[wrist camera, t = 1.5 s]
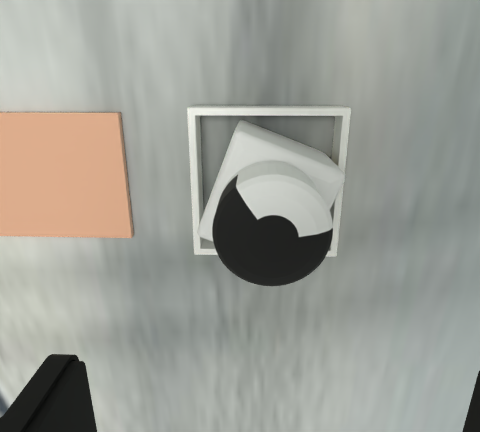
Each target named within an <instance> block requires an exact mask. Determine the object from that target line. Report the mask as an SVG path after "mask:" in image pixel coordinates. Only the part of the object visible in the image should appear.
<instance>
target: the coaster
mask: <svg viewBox="0 0 480 432" xmlns="http://www.w3.org/2000/svg"><path fill="white" fill-rule="evenodd" d="M133 235H134V232H133V222H132V213H131V204H130V195H129V185H128V176H127V167H126V157H125V148H124V139H123V129H122V120H121V112H0V236H41V237H108V238H132V237H133Z"/></svg>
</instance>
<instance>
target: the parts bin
mask: <svg viewBox="0 0 480 432" xmlns="http://www.w3.org/2000/svg"><path fill="white" fill-rule="evenodd" d="M187 112H188V133H189V154H190V175H191V196H192V217H193V238H194V254H197V255H218V254H217V252H216V249H215V246H214V243H213V242H212V241H210V240H207V239H204V238H201V237H200V236H199V235H198V233H197V229H198V227H199V224H200V221H201V219H202V216H203V213H204V206H203V179H202V151H201V124H200V115H252V116H335V123H334V134H333V146H332V158H331V160H332V161H333V162H334V163H335V164H336V165H337V166H338V167H339V168H340V169H341V170H342V171H343V172H344V173H345V166H346V156H347V146H348V136H349V126H350V116H351V108H349V107H345V106H191V107H188V108H187ZM343 186H344V183H343V185H342V187H341V189H340V191H339V193H338V195H337V197H336V199H335V201H334V202H333V204H332V206H331V208H330V210H329V211H330V214H331V217H332V223H333V237H332V242H331V245H330V248H329V251H328V253H327V255H326V256H325V257H337V247H338V237H339V227H340V217H341V207H342V197H343Z"/></svg>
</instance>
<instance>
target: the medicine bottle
mask: <svg viewBox="0 0 480 432" xmlns="http://www.w3.org/2000/svg"><path fill="white" fill-rule="evenodd" d="M345 177H346V176H345V173H344V172H343V171H342V170H341V169H340V168H339V167H338V166H337V165H336V164H335V163H334V162H333V161H332V160H331V159H330V158H329V157H328V156H327V155H326V154H325V153H324V152H322V151H319V150H317V149H314V148H312V147H309V146H307V145H305V144H302V143H300V142H297V141H295V140H292V139H290V138H287V137H285V136H282V135H280V134H277V133H275V132H272V131H270V130H267V129H265V128H262V127H260V126H257V125H255V124H252V123H250V122H247V121H245V120H241V121H239V122H238V124H237V126H236V129H235V131H234V134H233V136H232V139H231V142H230V144H229V147H228V150H227V152H226V155H225V158H224V160H223V163H222V166H221V168H220V171H219V174H218V176H217V179H216V182H215V184H214V187H213V190H212V192H211V195H210V198H209V200H208V203H207V205H206V208H205V211H204V213H203V216H202V219H201V221H200V224H199V227H198V229H197V233H198V235H199V236H200V237H201V238H204V239H207V240H210V241H212V242H213V243H214V246H215V249H216V252H217V254H218V256H219V258H220V259H221V261H222V262H223V264H224V265H225V266H226V267H227V268H228V269H229V270H230V271H231V272H233V273H234V274H235V275H237V276H238V277H240V278H241V279H244V280H246V281H248V282H251V283H254V284H258V285H263V286H280V285H286V284H290V283H293V282H296V281H298V280H300V279H302V278H304V277H306V276H307V275H309V274H310V273H311V272H313V271H314V270H315V269H316V268H317V267H318V266H319V265H320V264H321V262H322V261H323V260H324V258H325V256H326V255H327V253H328V251H329V248H330V245H331V242H332V237H333V223H332V217H331V214H330V211H329V210H330V208H331V206H332V204H333V202H334V201H335V199H336V197H337V195H338V193H339V191H340V189H341V187H342V185H343V183H344V181H345Z"/></svg>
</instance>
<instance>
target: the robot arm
mask: <svg viewBox="0 0 480 432" xmlns="http://www.w3.org/2000/svg"><path fill="white" fill-rule="evenodd" d="M0 432H97V429H96V423H95V417H94V412H93V406H92V400H91V394H90V389H89V383H88V377H87V371H86V366H85V363H84V362H83V361H79V359H78V357H77V356H76V355H62V354H52V355H49V356H48V357H47V358H46V359H45V361H44V362H43V363H42V365H41V366H40V368H39V369H38V370H37V372H36V373H35V374H34V376H33V377H32V378H31V380H30V381H29V382H28V384H27V385H26V386H25V388H24V389H23V390H22V392H21V393H20V394H19V396H18V397H17V398H16V400H15V401H14V402H13V404H12V405H11V406H10V408H9V409H8V410H7V412H6V413H5V414H4V416H2V417H1V418H0ZM463 432H480V371H479V373H478V377H477V380H476V384H475V388H474V391H473V395H472V399H471V402H470V406H469V410H468V414H467V417H466V421H465V425H464V428H463Z"/></svg>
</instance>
